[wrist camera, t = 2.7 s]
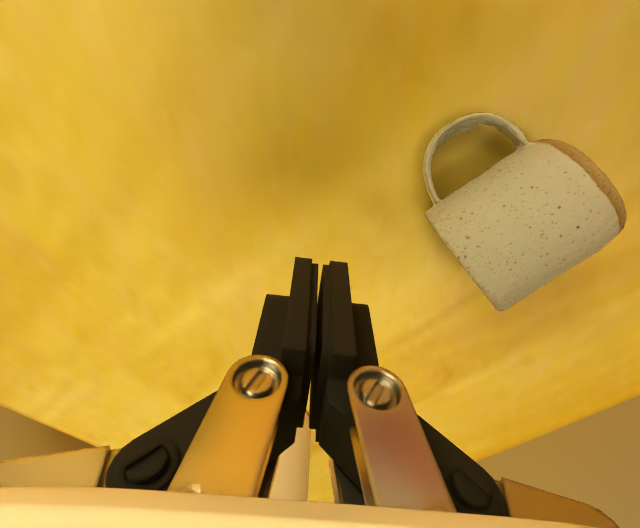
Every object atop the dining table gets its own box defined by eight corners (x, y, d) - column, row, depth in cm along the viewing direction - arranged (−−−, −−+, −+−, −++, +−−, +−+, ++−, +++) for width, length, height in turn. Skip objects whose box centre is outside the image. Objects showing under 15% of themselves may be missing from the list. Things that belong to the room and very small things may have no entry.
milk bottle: (236, 396, 36) (151, 707, 19) (309, 396, 35) (291, 713, 18) (247, 438, 40) (184, 726, 23) (313, 439, 39) (300, 731, 22)
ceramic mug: (573, 202, 24) (666, 257, 17) (467, 268, 27) (511, 337, 20) (498, 73, 20) (580, 80, 13) (385, 168, 23) (405, 212, 16)
